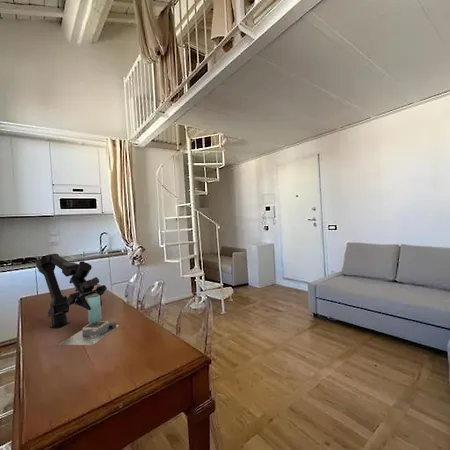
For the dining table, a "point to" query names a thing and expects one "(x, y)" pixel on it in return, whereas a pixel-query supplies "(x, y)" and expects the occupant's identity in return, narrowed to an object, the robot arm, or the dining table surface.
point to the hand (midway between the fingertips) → (95, 307)
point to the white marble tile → (90, 333)
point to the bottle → (94, 308)
